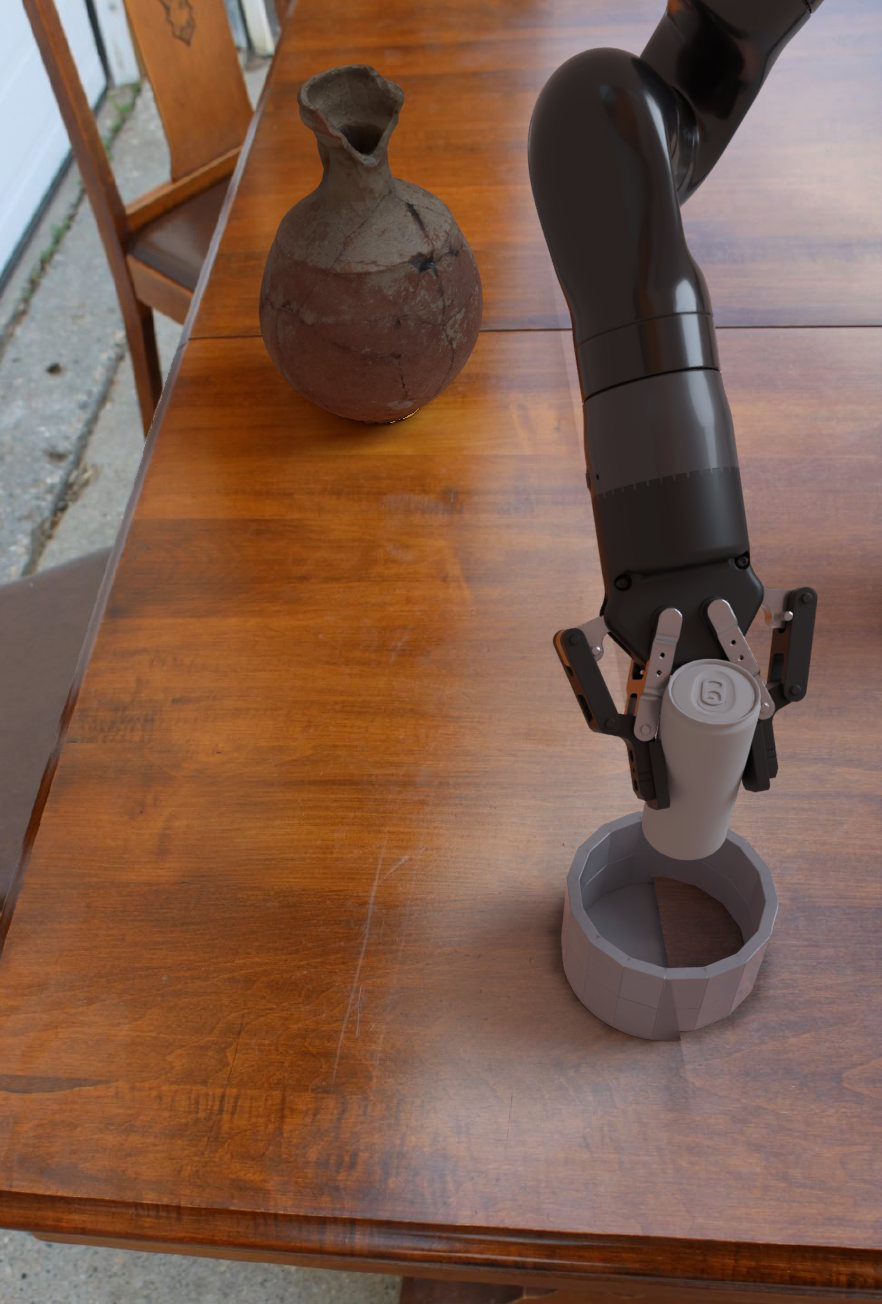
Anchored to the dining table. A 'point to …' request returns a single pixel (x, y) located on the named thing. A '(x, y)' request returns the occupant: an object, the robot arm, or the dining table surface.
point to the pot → (658, 931)
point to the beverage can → (702, 755)
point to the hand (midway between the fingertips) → (708, 797)
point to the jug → (367, 267)
